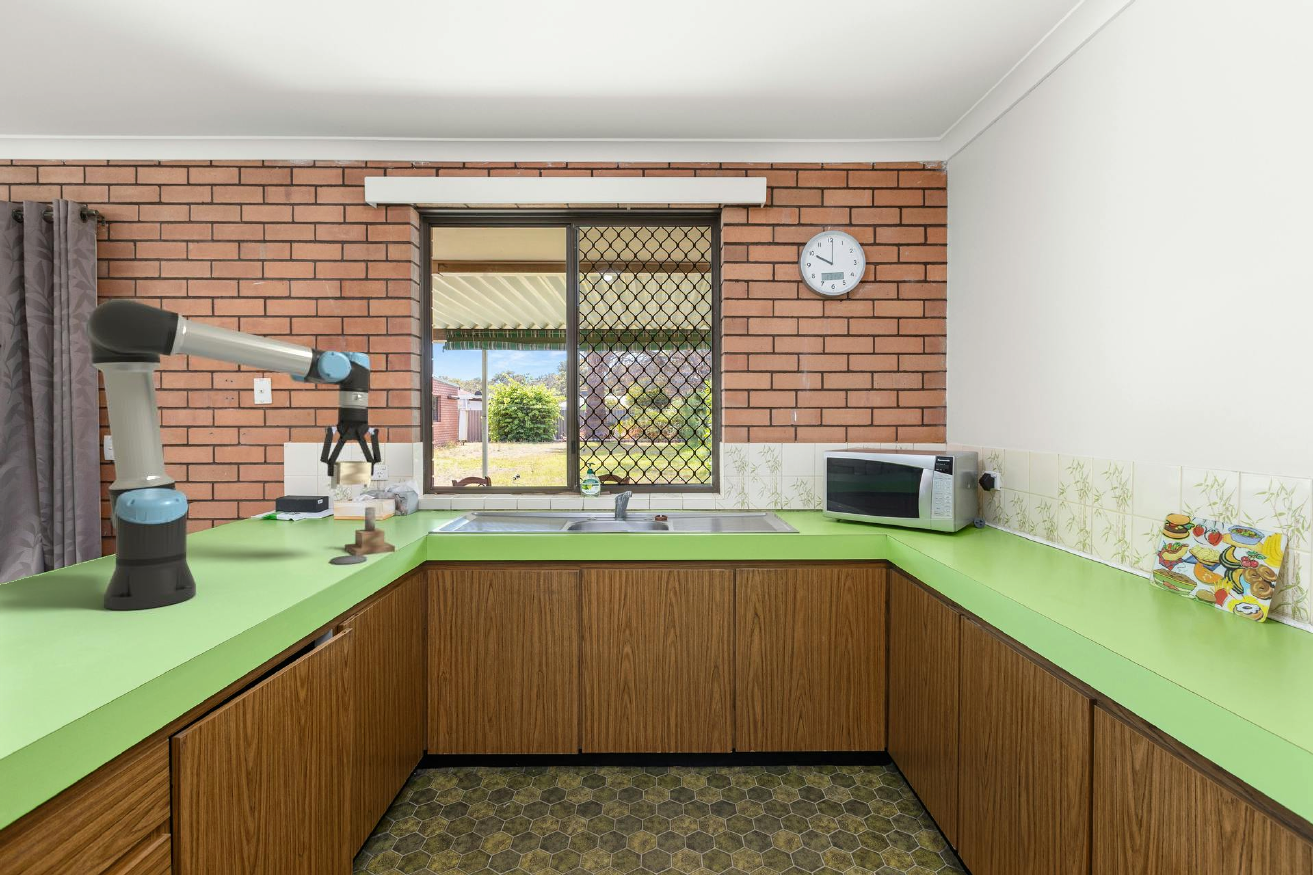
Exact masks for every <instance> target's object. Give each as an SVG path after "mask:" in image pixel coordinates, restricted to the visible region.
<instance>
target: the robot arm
mask: <svg viewBox="0 0 1313 875" xmlns="http://www.w3.org/2000/svg"><path fill="white" fill-rule="evenodd" d="M85 327H86V329H85V330H86V336H87V339H88V340H89V348H90V355H91V364H92V366H93V367H95V369H98V370H99V371H100V372H102V375H103V383H104V390H105V391H104V392H105V399H106V407H107V414H108V423H109V430H110V436H111V446H112V453H113V461H114V469H115V476H116V479H115V480H114V481H113V483H112V484H110V485H109V486H108V495H109V500H110V501H109V502H110V509H111V512H110V522H111V524H112V527H113V529H115V569H114V571H113V573H112V576H111V577H110V581H109V584H108V586H107V588H106V590H105V593H104V596H103V606H104V608H106V609H110V610H119V611H120V610H123V611H125V610H126V611H128V610H144V609H151V608H152V609H153V608H158V607H165V606H168V605H174V604H177V603H182V602H184V601H187V600H190V599H192V598H193V597H195V596H196V595H197V585H196V582H195V579H194V576H193V574H192V571H191V570H190V566H189V564H188V561H187V538H188V537H187V533H188V532H187V527H188V526H187V523H188V522H187V520H188V519H187V516H188V514H187V512H188V509H189V504H188V500H187V496H186V494H185V493H184V492H182V491H180V490H176V489H177V488H176V481H175V479H173V478H172V477H171V476H169V475H168V474H166V467H165V458H164V449H163V443H162V434H161V427H160V426H161V425H160V417H159V416H160V415H159V408H158V402H157V393H156V386H155V385H156V383H155V376H154V372H155V371H156V369H158V368H159V367H160V366H161V356H160V355H162V356H163V355H164V356H168V357H173V356H174V355H176V354H177V355H178V354H181V355H186V356H187V355H188V356H191V357H197V358H202V359H208V360H213V361H219V362H223V363H229V364H235V365H239V366H245V367H250V368H256V369H261V370H267V371H272V372H277V373H283V374H288V375H289V377H290V379H291V381H293V382H297V383H303V384H319V385H334V386H338V404H337V405H338V406H340V407H339V408H338V410H337V411H338V412H337V424H336V425H335V426H326V427H325V428H324V430H325V431H324V432H325V437H324V443H323V446H322V450H321V456H320V461H319V462H321V463H323V464H326V465H327V472H326V474H327V476H328V477H330V489H333V490H334V489H335V490H337V489H338V488H337V487H338V484H337V466H338V465H334V464H335V462H336V461H337V459H338V457H339V455H340V453H341V452H342V450H343V447H344V446H345V444H346V443H347V441H357V443H358V444H359V447H360V448H361V449H360V450H361V451H362V453H363V454H362V455H364V458H365V462H369V463H371V477H373V476H374V472H375V465H376V464H379V463H381V462H382V457H381V450H380V442H379V433H380V430H379V428H373V427H369V425H368V421H369V419H368V417H369V410H368V408H367V407H369V392H370V391H369V390H370V389H369V387H370V386H369V384H370V372H371V369H370V368H371V366H370V365H371V364H370V363H371V362H370V357H369V355H368V354H366V353H362V352H356V351H355V352H353V351H342V352H340V351H335V350H328V351H327V350H322V349H317V348H313V347H308V346H305V345H304V346H303V345H300V344H295V343H292V342H287V341H283V340H282V341H281V340H277V339H273V338H269V337H265V336H259V335H255V334H252V333H251V334H250V333H248V332H243V331H237V330H233V329H228V328H225V327H220V326H215V325H211V324H206V323H203V322H198V321H194V320H193V321H192V320H189V319H185V317H183V315H182V314H181V312H180V313H179V312H175V311H170V310H166V309H162V308H159V307H156V306H153V305H150V304H149V305H148V304H147V303H146V304H145V303H143V302H139V301H136V300H129V299H124V298H123V299H111V300H107V301H104V302H103V303H100V304H99V305H97V306H96V307H95V308H94V309H93V310H92V311H91V312H90V315H89V319H88V320H87V323H86V326H85ZM336 432H338V434H339V437H338V439H337V442H336V444H335V446H334V448H333V450H332V452H330V451H331V447H332V443H333V438H334V435H335V434H336ZM367 433H368V434H369V435H370V442H371V443H370V444H371V449H372V452H371V450H370V448H369V445H368V444H367V439H366V436H365V435H366V434H367ZM330 453H331V454H330ZM370 487H371V484H363V488H365V489H366V488H368V489H369V488H370Z"/></svg>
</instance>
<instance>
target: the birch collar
mask: <svg viewBox="0 0 1313 875" xmlns="http://www.w3.org/2000/svg"><path fill="white" fill-rule="evenodd" d="M334 465H338V466H337V486H338V485H339V486H346V485H347V486H348V485H349V486H351V485H354V486H355V485H364V484H370V485H371V481H372V476H371V463H369V462H367V461H363V460H362V461H361V460H359V461H357V460H355V461H354V460H344V461H343V460H342V461H341V460H339V461H337V460H336V462H335V464H334Z"/></svg>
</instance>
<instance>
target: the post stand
mask: <svg viewBox="0 0 1313 875" xmlns="http://www.w3.org/2000/svg"><path fill="white" fill-rule="evenodd" d="M364 512H365V513H364V529H356V530H355V533H354V534H355V535H354V537H355V538H354V543H348V544H347V543H346V544H344V550H345V551H347V552H348V553H351V555H360V556H366V555H372V554H381V553H382V554H383V553H392V552H395V550H396V546H395V545H393V544H392V543H391V544H390V543H388V542H386V541H385V530H383V529H380V528H377V527H376V507H374V506H373V507H372V506H370V507H365V509H364Z"/></svg>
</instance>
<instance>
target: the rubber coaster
mask: <svg viewBox="0 0 1313 875" xmlns="http://www.w3.org/2000/svg"><path fill="white" fill-rule="evenodd" d="M367 559H368V558H367V556H366V555H354V554H351V555H341V556H336V557H333V558H331V559H330V564H332V565H343V566H345V565H347V566H348V565H355V564H361V563H363V562H366V561H367Z"/></svg>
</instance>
